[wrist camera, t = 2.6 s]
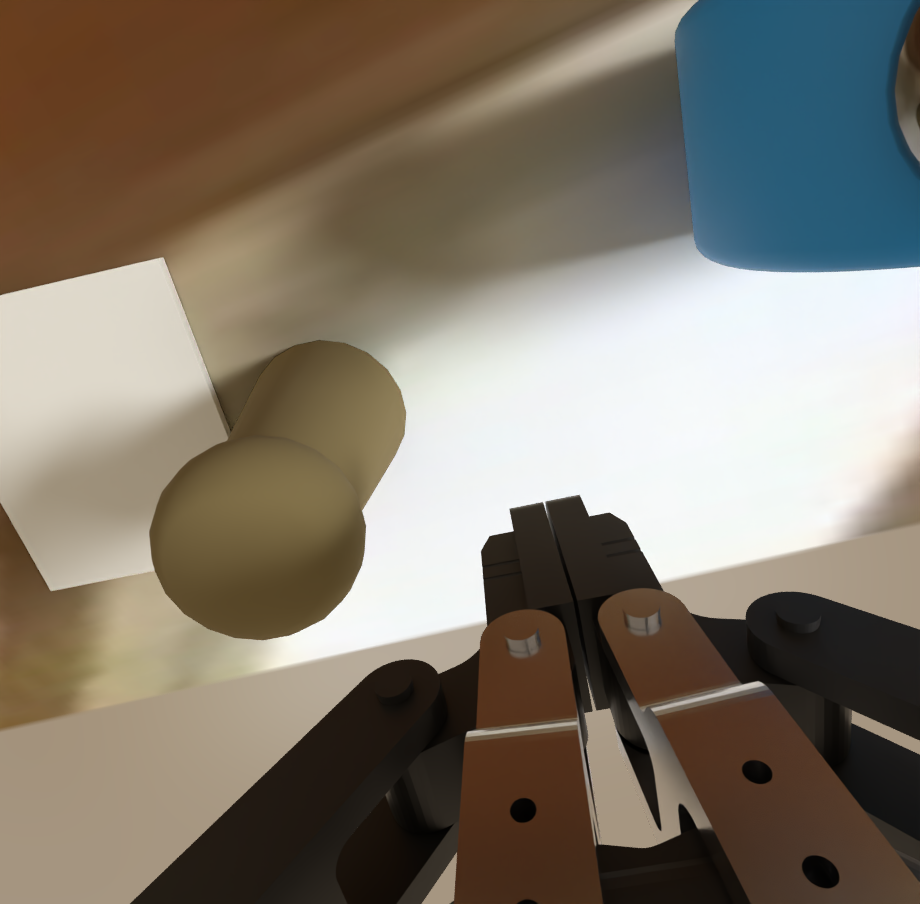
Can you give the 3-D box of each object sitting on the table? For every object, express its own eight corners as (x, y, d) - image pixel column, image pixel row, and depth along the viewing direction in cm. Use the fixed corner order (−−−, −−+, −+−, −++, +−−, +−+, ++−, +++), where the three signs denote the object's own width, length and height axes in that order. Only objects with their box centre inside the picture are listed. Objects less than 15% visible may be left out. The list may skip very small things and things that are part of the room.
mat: (-95, 317, 22) (-105, 319, 22) (163, 257, 22) (158, 258, 21) (56, 585, 27) (50, 591, 27) (273, 542, 26) (271, 548, 26)
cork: (266, 489, 25) (141, 685, 15) (238, 344, 23) (70, 462, 13) (411, 481, 25) (385, 674, 15) (399, 336, 23) (358, 448, 13)
